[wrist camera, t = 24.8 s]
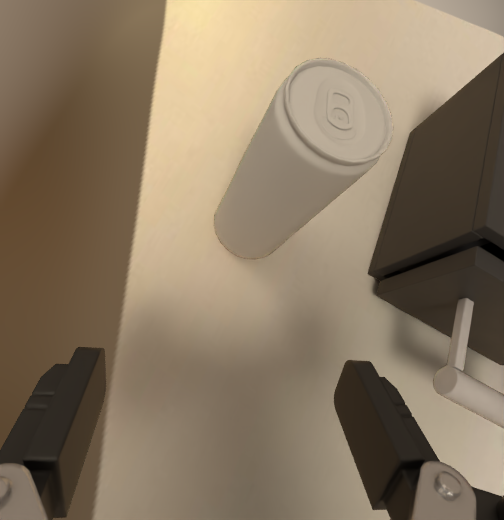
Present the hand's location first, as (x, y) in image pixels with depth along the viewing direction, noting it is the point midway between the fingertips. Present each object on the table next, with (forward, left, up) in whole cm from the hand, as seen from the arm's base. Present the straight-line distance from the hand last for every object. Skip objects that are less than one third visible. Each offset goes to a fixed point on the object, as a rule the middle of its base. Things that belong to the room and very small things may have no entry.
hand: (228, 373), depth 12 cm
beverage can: (-1, +10, -9) cm, 14 cm away
